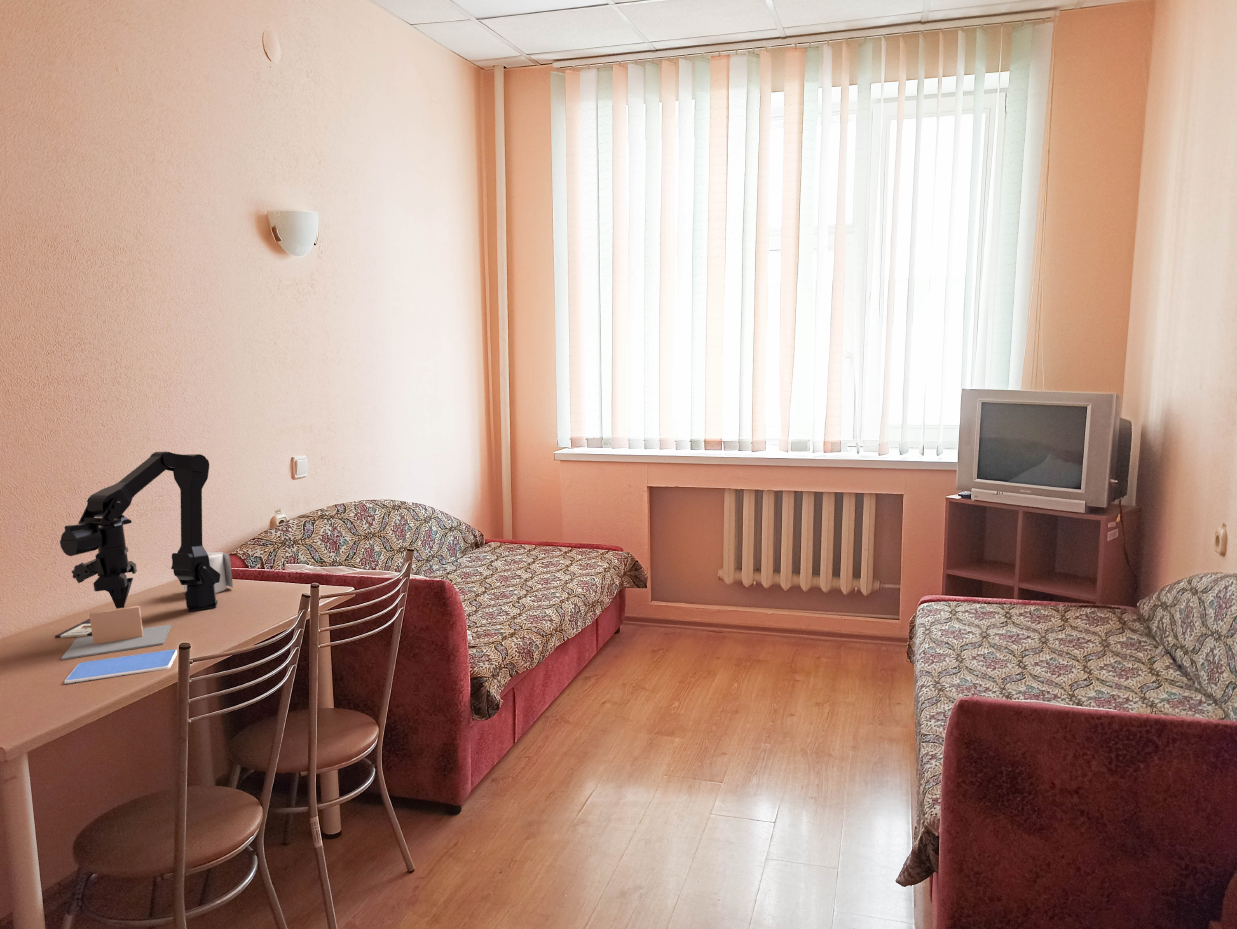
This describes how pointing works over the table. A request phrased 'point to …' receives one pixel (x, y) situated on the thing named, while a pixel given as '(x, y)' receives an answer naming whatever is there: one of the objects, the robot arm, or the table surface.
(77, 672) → the tablet computer
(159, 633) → the mat
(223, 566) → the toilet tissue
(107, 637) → the tile
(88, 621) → the chocolate bar
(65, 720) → the table surface
